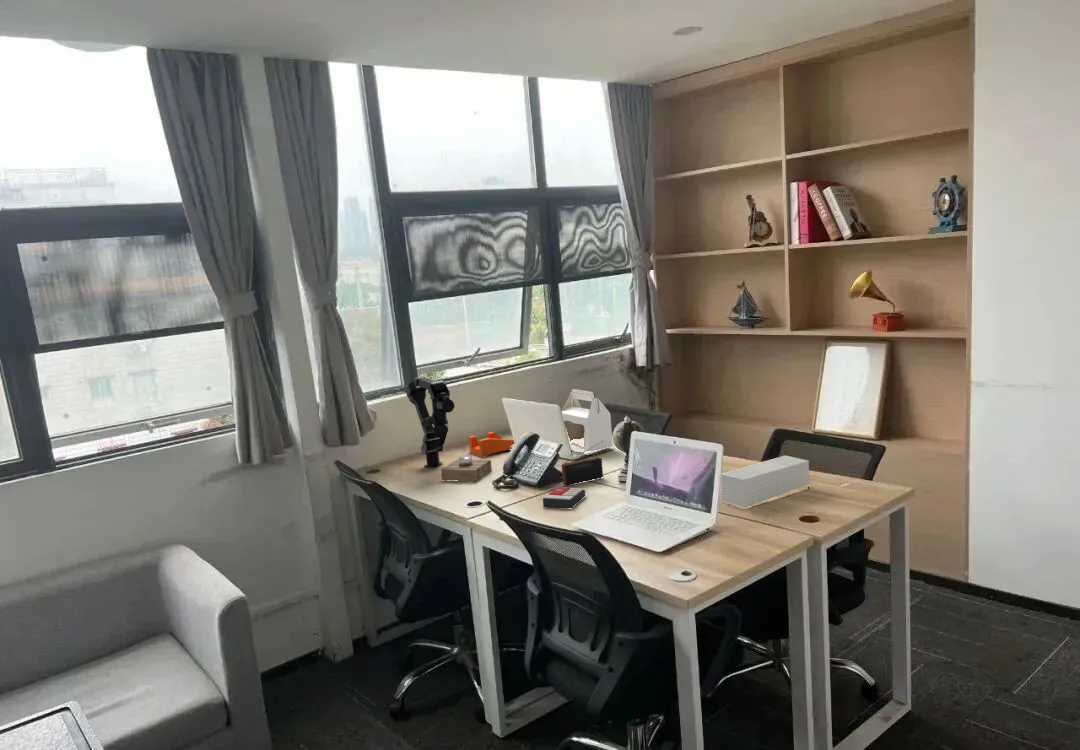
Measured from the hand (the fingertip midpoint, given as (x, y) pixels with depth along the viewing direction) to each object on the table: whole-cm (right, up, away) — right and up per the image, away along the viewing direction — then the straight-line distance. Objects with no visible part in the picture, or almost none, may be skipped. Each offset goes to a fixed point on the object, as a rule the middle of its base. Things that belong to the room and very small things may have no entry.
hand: (442, 444), depth 340 cm
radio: (+61, -12, -32) cm, 70 cm away
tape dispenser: (+20, -7, +30) cm, 37 cm away
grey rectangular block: (+123, -13, -67) cm, 141 cm away
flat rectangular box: (+52, -17, -55) cm, 78 cm away
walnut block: (+12, -13, -9) cm, 20 cm away
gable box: (+65, -4, +19) cm, 68 cm away
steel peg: (+12, -12, -10) cm, 19 cm away
